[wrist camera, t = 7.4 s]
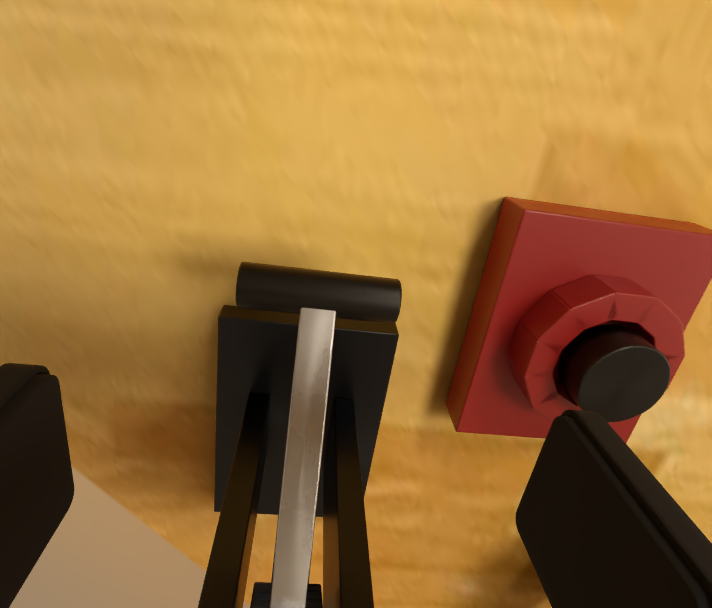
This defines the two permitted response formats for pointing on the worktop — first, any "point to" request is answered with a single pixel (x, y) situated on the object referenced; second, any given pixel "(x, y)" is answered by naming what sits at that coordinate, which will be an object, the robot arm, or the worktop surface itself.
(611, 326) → the stop button
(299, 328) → the lever
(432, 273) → the worktop surface
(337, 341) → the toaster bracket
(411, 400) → the worktop surface
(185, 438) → the worktop surface
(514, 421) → the block
